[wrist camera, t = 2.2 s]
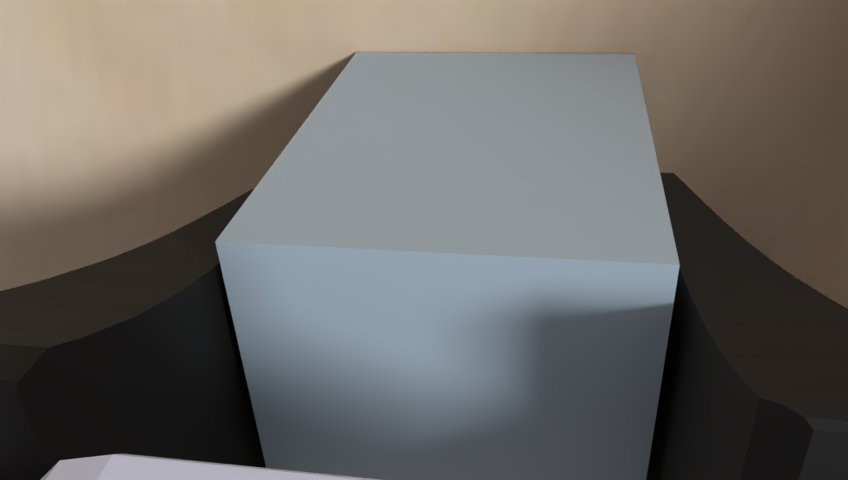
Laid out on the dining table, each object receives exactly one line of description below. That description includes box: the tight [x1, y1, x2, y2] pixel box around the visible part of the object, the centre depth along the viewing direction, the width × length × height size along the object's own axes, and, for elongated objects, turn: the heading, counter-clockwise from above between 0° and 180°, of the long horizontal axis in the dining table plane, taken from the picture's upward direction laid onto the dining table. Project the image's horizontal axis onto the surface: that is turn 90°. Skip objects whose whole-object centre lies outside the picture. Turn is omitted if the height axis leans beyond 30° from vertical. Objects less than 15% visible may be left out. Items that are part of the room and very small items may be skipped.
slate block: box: [215, 52, 680, 480], centre depth 11 cm, size 4×4×6 cm
